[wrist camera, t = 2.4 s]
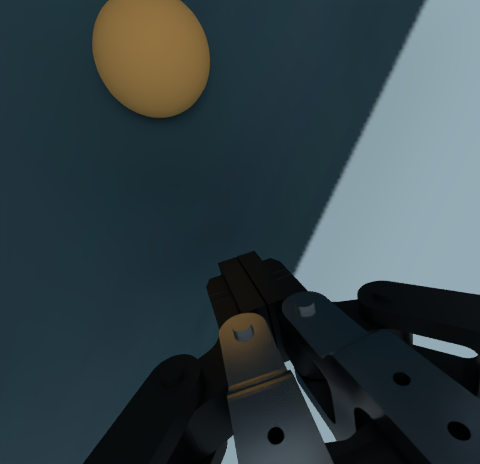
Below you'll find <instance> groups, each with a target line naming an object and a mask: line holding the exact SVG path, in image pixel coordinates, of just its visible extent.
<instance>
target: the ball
mask: <svg viewBox="0 0 480 464" xmlns="http://www.w3.org/2000/svg"><path fill="white" fill-rule="evenodd" d="M92 47H93V55H94V61H95V64H96V67H97V70H98V72H99V75H100V77H101V79H102V81H103V82H104V84H105V86H106V87H107V88H108V90H109V91H110V93H111V94H112V95H113V96H114V97H115V98H116V99H117V100H118V101H119V102H120V103H122V104H123V105H124V106H126V107H127V108H129V109H130V110H132V111H134V112H136V113H138V114H141V115H144V116H148V117H154V118H166V117H171V116H175V115H178V114H180V113H182V112H184V111H185V110H187V109H188V108H190V107H191V106H192V105H193V104H194V103H195V102H196V101H197V100H198V98H199V97H200V95H201V94H202V92H203V90H204V88H205V86H206V83H207V80H208V76H209V70H210V54H209V47H208V42H207V39H206V36H205V33H204V31H203V28H202V27H201V25H200V23H199V21H198V20H197V18H196V17H195V15H194V14H193V13H192V11H191V10H190V9H189V8H188V7H187V6H186V5H185V4H184V3H183V2H182V1H181V0H108V1H107V2H106V4H105V5H104V6H103V8H102V9H101V11H100V13H99V14H98V17H97V19H96V22H95V26H94V30H93V39H92Z"/></svg>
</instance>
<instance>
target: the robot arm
mask: <svg viewBox="0 0 480 464" xmlns="http://www.w3.org/2000/svg"><path fill="white" fill-rule="evenodd" d="M218 265H219V269H220V272H221V275H220V276H217V277H214V278H211V279H209V282H208V284H207V287H206V288H207V291H208V295H209V298H210V301H211V304H212V307H213V310H214V314H215V317H216V320H217V323H218V326H219V330H220V331H219V338H218V341H217V342H216V344H215V345H214V347H213V348H212V349H211V350H210V351H208V352H207V353H206V354H205V355H203V356H202V357H200V358H199V359H196V358H195V357H193V356H191V355H186V354H182V355H176V356H173V357H170V358H168V359H166V360H165V361H163V362H162V363H160V364H159V365H158V366H157V367H156V368H155V369H154V370H153V371H152V372H151V374H150V375H149V376H148V378H147V379H146V380H145V382H144V383H143V384H142V386H141V387H140V388H139V390H138V391H137V392H136V394H135V395H134V396H133V398H132V399H131V400H130V402H129V403H128V404H127V406H126V407H125V408H124V410H123V411H122V412H121V414H120V415H119V416H118V418H117V419H116V420H115V422H114V423H113V424H112V426H111V427H110V428H109V430H108V431H107V432H106V434H105V435H104V436H103V438H102V439H101V440H100V442H99V443H98V444H97V446H96V447H95V448H94V450H93V451H92V452H91V454H90V455H89V456H88V458H87V459H86V460H85V462H84V463H83V464H221V462H222V460H223V457H224V455H225V452H226V449H227V440H228V439H229V438H230V437H231V436H232V435H234V440H235V447H236V452H237V458H238V464H480V295H477V294H469V293H463V292H457V291H450V290H444V289H437V288H430V287H424V286H417V285H410V284H404V283H397V282H391V281H375V282H370V283H367V284H365V285H363V286H362V287H361V288H360V289H359V290H358V294H357V295H358V299H357V300H349V301H342V302H331V301H330V300H329V299H327V298H326V297H325V296H324V295H322V294H320V293H317V292H311V291H307V290H306V289H305V288H304V287H303V286H302V284H301V283H300V282H299V281H298V280H297V279H296V278H295V277H294V276H293V275H291V273H290V272H289V271H288V269H286V267H285V266H284V265H283V264H282V263H281V262H280V261H277V260H274V259H272V258H269V259H266V260H263V261H262V260H261V259H260V257H259V256H258V255H257V254H256V252H255V251H252V252H249V253H246V254H243V255H240V256H237V258H236V257H235V258H232V259H229V260H226V261H223V262H220V263H218ZM413 334H416V335H421V336H425V337H429V338H433V339H437V340H441V341H446V342H450V343H454V344H458V345H462V346H466V347H468V348H471V349H472V350H474V351H475V352H476V353H477V354H478V356H476V357H474V358H462V357H459V356H455V355H451V354H447V353H443V352H439V351H435V350H432V349H428V348H424V347H420V346H416V345H413ZM289 360H290V361H291V362H292V364H293V366H294V369H295V374H296V378H297V381H298V382H299V384H300V385H301V387H302V389H303V390H304V392H305V393H306V394H307V396H308V397H309V399H310V400H311V402H312V403H313V405H314V406H315V408H316V409H317V411H318V412H319V414H320V415H321V417H322V418H323V420H324V421H325V423H326V424H327V426H328V427H329V429H330V430H331V432H332V433H333V435H334V437H335V439H336V440H337V441H335V442H329V443H324V441H323V439H322V437H321V435H320V433H319V430H318V428H317V426H316V423H315V421H314V419H313V417H312V415H311V412H310V410H309V408H308V406H307V404H306V402H305V399H304V397H303V395H302V393H301V390H300V388H299V386H298V384H297V382H296V379H295V377H294V375H293V373H292V372H291V370H288V371H287V369H286V367H285V364H284V362H286V361H289Z"/></svg>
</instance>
